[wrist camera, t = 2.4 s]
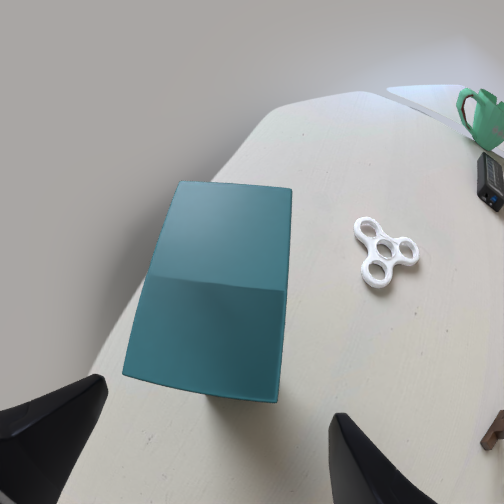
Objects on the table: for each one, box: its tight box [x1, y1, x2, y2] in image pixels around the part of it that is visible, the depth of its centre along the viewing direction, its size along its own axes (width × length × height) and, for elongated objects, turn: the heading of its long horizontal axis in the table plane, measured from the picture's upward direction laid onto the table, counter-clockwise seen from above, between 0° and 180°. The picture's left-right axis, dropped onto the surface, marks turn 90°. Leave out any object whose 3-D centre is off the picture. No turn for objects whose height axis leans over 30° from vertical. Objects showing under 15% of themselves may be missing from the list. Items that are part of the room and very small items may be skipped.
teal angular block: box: [122, 181, 292, 403], centre depth 13 cm, size 7×4×13 cm, turn 173°
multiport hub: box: [477, 152, 504, 212], centre depth 28 cm, size 4×11×2 cm, turn 143°
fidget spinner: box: [353, 217, 420, 288], centre depth 22 cm, size 7×6×1 cm
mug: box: [456, 88, 504, 151], centre depth 31 cm, size 15×10×10 cm
